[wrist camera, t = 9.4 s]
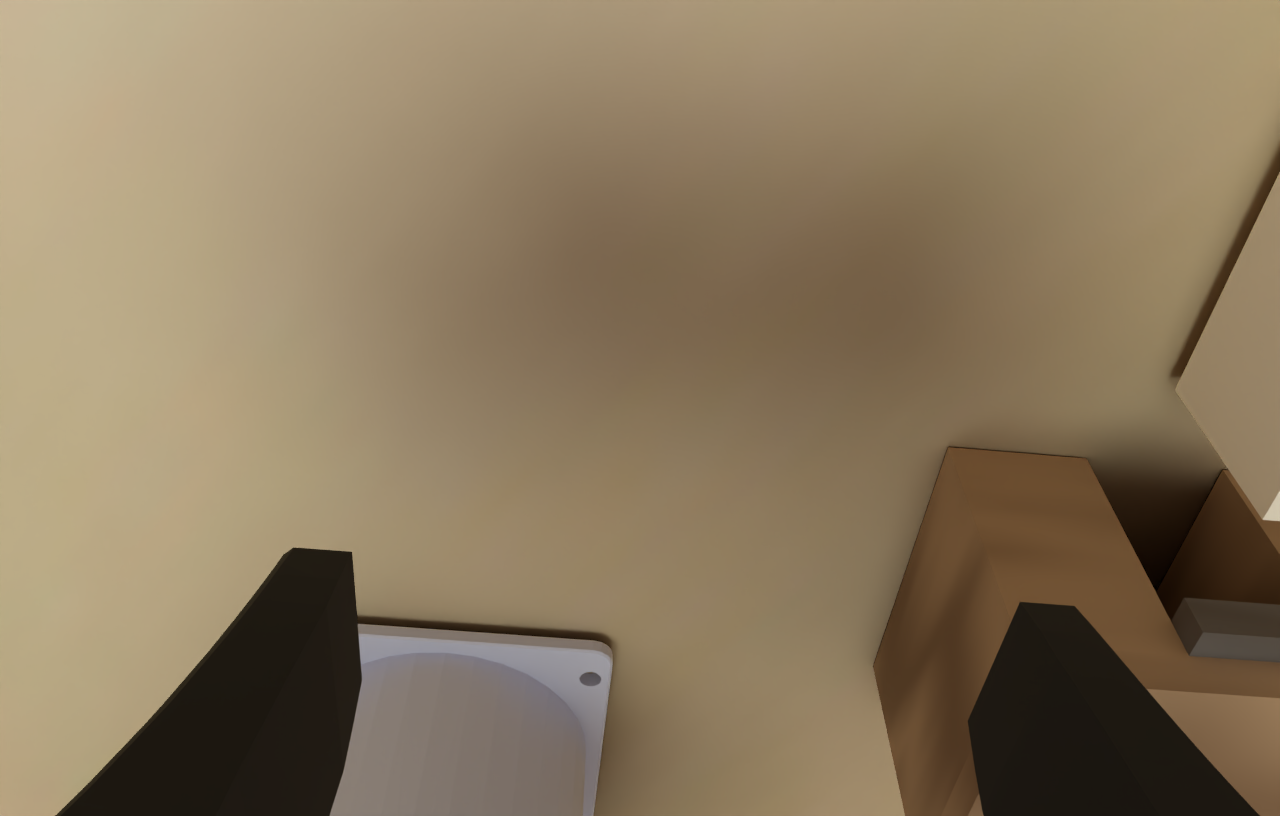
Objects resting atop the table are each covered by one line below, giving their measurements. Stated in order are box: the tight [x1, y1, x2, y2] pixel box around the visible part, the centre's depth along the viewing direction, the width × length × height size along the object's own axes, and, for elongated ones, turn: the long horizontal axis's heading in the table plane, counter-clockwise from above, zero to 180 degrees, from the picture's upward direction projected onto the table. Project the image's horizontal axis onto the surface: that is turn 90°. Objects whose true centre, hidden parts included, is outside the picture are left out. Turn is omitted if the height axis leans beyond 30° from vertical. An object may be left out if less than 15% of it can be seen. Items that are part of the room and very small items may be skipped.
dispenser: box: [873, 447, 1280, 816], centre depth 23 cm, size 8×9×6 cm
